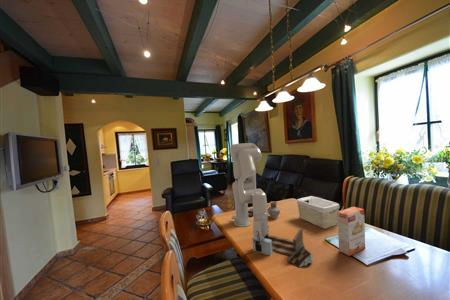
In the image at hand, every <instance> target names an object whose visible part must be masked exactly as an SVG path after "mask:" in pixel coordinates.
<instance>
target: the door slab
mask: <svg viewBox="0 0 450 300" xmlns="http://www.w3.org/2000/svg"><path fill="white" fill-rule="evenodd" d="M253 238H254V237H253V236H252V241H251V242H252V252H257V253H261V254H263V255H267V256H272V254H273V252H274V251H272V240H270V239H266V238H263V239H261V247H262V252H258V251H256V248H255V242H254V239H253ZM258 238H260V237H258ZM257 240H258V241H259V239H257Z"/></svg>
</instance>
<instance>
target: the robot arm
mask: <svg viewBox="0 0 450 300" xmlns="http://www.w3.org/2000/svg"><path fill="white" fill-rule="evenodd" d="M229 153H230V154H229V155H230V156H231V159H232V166H233V169H232V170H233V177H234V179H235V180H236V181H234V182H232V185H231V189H232V192H233V199H234V211H235V214H234V215H232V216H231V220H233V224H234V226H237V227H240V228H241V227H248V226H250V225H251V223H252V222H251V220H250V219H249V206H248V205H249V204H252V216H253V224H252V229H253V230H252V234H253V236H252V238H253V237H254V238H253V239H254V242H255V248H256V251H258V252H257V253H260V252H262V247H261V239H263V238H266V239H269V235H270V233H269V232H270V230H269V229H270V228H269V227H270V225H269V221H268V218H269V217H268V215H269V214H268V211H267V209H268V207H267V205H268V201H267V194H266V193H265V192H264V190H262V188H257V179H256V176H257V175H256V173H257V170H256V165H255V162H260V161H261V160H262V156H263V155H262V152H261V150H260V148H259V147H258V146H257V145H256V144H255V143H253V142H245V143H233V144H232V145H230V146H229ZM258 237H260V238H258ZM257 239H259V241H258V240H257ZM256 251H255V252H256Z"/></svg>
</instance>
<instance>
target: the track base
mask: <svg viewBox="0 0 450 300" xmlns="http://www.w3.org/2000/svg"><path fill="white" fill-rule="evenodd" d="M303 236H304V235H303V228H299V229H298V231H297V232H296V234H295V235H294V237H293V240H292V239H288V238H284V237H281V236H275V235H270V234H269V239H270V240H272V251H273V252H275V253H278V254H279V253H280V254H282V255H286V256H289V257H290V256H292V254H293V253H294V252H295V251H296V250H297V249H298V248H299V247H300V246H301V245H302V244H303V243H304V237H303Z"/></svg>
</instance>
